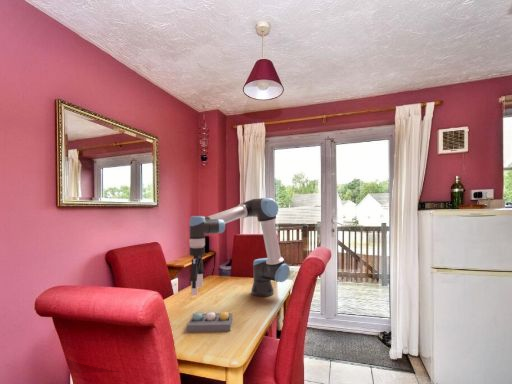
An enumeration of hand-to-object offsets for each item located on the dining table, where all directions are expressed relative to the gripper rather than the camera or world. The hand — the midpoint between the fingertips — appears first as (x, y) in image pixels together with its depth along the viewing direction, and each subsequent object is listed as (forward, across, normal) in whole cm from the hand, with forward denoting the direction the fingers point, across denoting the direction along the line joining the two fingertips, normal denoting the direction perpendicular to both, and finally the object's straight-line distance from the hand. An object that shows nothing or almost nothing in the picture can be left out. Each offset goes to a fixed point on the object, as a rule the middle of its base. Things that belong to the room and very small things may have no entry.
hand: (197, 290), depth 132 cm
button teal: (+14, 0, 0) cm, 14 cm away
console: (+17, 0, +7) cm, 18 cm away
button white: (+14, 0, +7) cm, 15 cm away
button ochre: (+14, 0, +13) cm, 19 cm away
